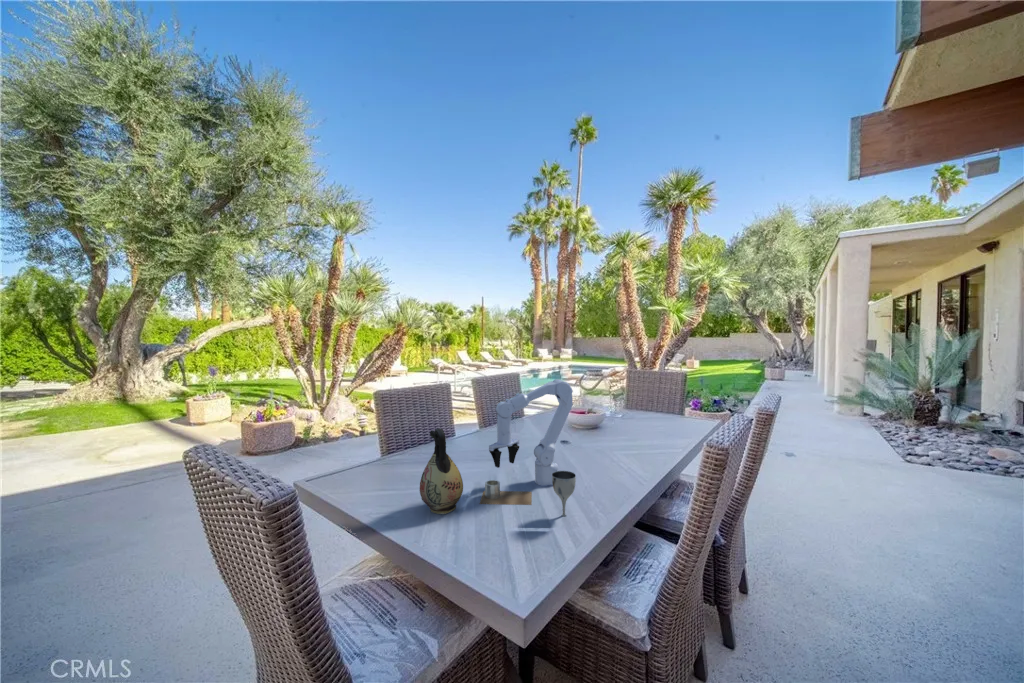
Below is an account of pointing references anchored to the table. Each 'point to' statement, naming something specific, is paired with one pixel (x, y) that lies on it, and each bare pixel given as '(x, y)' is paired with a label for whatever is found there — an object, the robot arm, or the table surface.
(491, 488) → the steel collar
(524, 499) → the walnut board
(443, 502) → the ceramic jug
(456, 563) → the table surface
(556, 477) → the wine glass
